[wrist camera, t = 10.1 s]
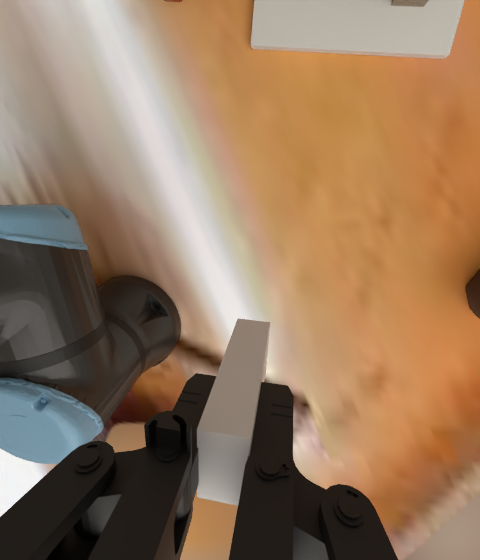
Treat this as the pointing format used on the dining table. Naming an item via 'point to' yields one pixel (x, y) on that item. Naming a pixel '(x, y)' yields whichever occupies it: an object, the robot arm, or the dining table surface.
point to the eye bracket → (409, 3)
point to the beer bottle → (474, 294)
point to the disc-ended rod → (173, 0)
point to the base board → (356, 27)
